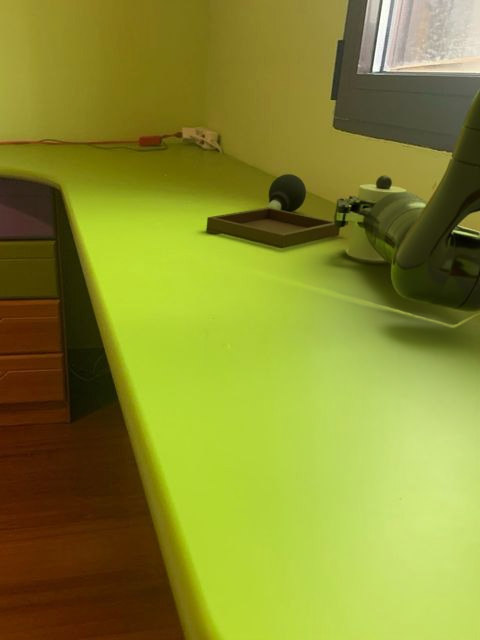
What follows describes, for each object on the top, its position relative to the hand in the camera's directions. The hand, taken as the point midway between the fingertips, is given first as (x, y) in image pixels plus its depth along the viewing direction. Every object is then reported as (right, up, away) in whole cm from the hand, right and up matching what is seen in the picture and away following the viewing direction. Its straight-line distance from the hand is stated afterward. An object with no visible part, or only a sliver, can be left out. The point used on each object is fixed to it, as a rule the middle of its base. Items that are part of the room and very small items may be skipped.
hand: (374, 205), depth 94 cm
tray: (-12, -1, +10) cm, 16 cm away
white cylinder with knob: (0, -7, +1) cm, 7 cm away
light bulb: (-8, +7, +26) cm, 28 cm away
